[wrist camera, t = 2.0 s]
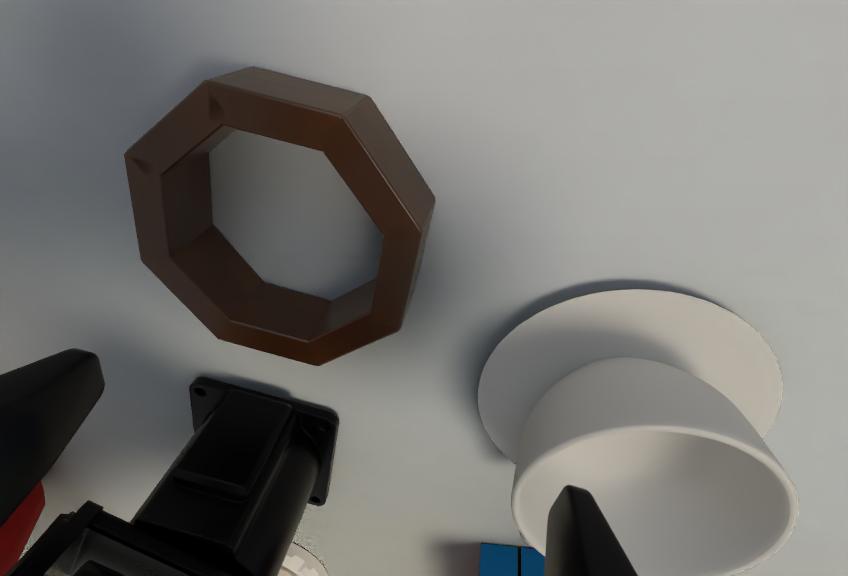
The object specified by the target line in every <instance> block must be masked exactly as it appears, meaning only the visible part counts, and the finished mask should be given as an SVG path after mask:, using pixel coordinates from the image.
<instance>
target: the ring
mask: <svg viewBox="0 0 848 576" xmlns="http://www.w3.org/2000/svg"><path fill="white" fill-rule="evenodd" d="M236 129H239V130H243V131H247V132H251V133H254V134H258V135H262V136H266V137H270V138H274V139H277V140H281V141H285V142H289V143H293V144H297V145H300V146H304V147H308V148H312V149H316V150H320V151H323V152H324V153H325V155H326V156H327V158H328V159H329V160H330V162H331V163H332V165H333V166H334V167H335V169H336V170H337V171H338V173H339V174H340V176H341V177H342V178H343V180H344V181H345V183H346V184H347V185H348V187H349V188H350V190H351V191H352V192H353V194H354V195H355V196H356V198H357V199H358V201H359V202H360V203H361V205H362V206H363V208H364V209H365V210H366V212H367V213H368V214H369V216H370V217H371V219H372V220H373V221H374V223H375V224H376V226H377V227H378V228H379V230H380V231H381V232H382V234H383V235H384V237H383V242H382V248H381V254H380V260H379V265H378V271H377V277H376V279H374V280H372V281H370V282H368V283H366V284H364V285H362V286H360V287H358V288H356V289H354V290H352V291H350V292H348V293H346V294H344V295H342V296H340V297H338V298H336V299H334V300H332V301H330V300H326V299H322V298H319V297H315V296H311V295H308V294H304V293H300V292H297V291H293V290H289V289H285V288H282V287H278V286H274V285H271V284H267V283H264V282H263V281H262V280H261V279H260V278H259V277H258V275H257V274H256V273H255V272H254V271H253V270H252V269H251V267H250V266H249V265H248V264H247V263H246V262H245V261H244V259H243V258H242V257H241V256H240V255H239V254H238V253H237V252H236V250H235V249H234V248H233V247H232V246H231V245H230V244H229V242H228V241H227V240H226V239H225V238H224V237H223V236H222V235H221V233H220V232H219V231H218V230H217V229H216V228H215V227H214V225H213V221H212V204H211V186H210V168H209V151H210V150H211V149H212V148H214V147H215V146H216V145H217V144H219V143H220V142H221V141H222V140H224V139H225V138H226V137H227V136H229V135H230V134H231V133H232V132H234V131H235V130H236ZM124 157H125V163H126V169H127V176H128V182H129V188H130V194H131V201H132V207H133V213H134V219H135V226H136V232H137V238H138V245H139V251H140V257H141V260H142V262H143V263H144V264H145V265H146V266H147V267H148V268H149V269H150V270H151V271H152V272H153V273H154V274H155V275H156V276H157V277H158V278H159V279H160V280H161V281H162V282H163V283H164V284H165V285H166V286H167V287H168V289H169V290H170V291H171V292H172V293H173V294H174V295H175V296H176V297H177V298H178V299H179V300H180V301H181V302H182V303H183V304H184V305H185V306H186V307H187V308H188V309H189V310H190V311H191V312H192V313H193V314H194V315H195V316H196V317H197V318H198V319H199V320H200V321H201V322H202V323H203V324H204V325H205V326H206V327H207V328H208V329H209V330H210V331H211V332H212V333H213V334H214V335H215V336H216V337H217V338H218V339H221V340H223V341H227V342H231V343H234V344H238V345H242V346H245V347H249V348H253V349H256V350H260V351H263V352H267V353H271V354H274V355H278V356H282V357H285V358H289V359H293V360H296V361H300V362H304V363H307V364H311V365H314V366H320V365H322V364H324V363H327V362H329V361H331V360H334V359H336V358H338V357H340V356H343V355H345V354H347V353H350V352H352V351H354V350H356V349H359V348H361V347H363V346H366V345H368V344H370V343H372V342H375V341H377V340H379V339H382V338H384V337H386V336H389V335H391V334H393V333H395V332H398V331H399V330H400V329H401V327H402V324H403V321H404V318H405V315H406V313H407V310H408V307H409V304H410V301H411V298H412V295H413V292H414V289H415V286H416V282H417V277H418V273H419V269H420V264H421V260H422V256H423V252H424V247H425V243H426V239H427V234H428V230H429V226H430V222H431V217H432V213H433V209H434V204H435V196H434V195H433V193H432V192H431V190H430V189H429V187H428V185H427V184H426V182H425V181H424V179H423V178H422V176H421V175H420V173H419V172H418V170H417V168H416V167H415V165H414V164H413V162H412V161H411V159H410V158H409V156H408V155H407V153H406V151H405V150H404V148H403V147H402V145H401V144H400V142H399V141H398V139H397V138H396V136H395V134H394V133H393V131H392V130H391V128H390V127H389V125H388V124H387V122H386V120H385V119H384V117H383V116H382V114H381V113H380V111H379V110H378V108H377V107H376V105H375V103H374V102H373V100H372V99H371V98H370V97H368V96H366V95H362V94H359V93H355V92H351V91H347V90H343V89H339V88H335V87H331V86H327V85H323V84H320V83H316V82H312V81H308V80H304V79H300V78H296V77H292V76H288V75H284V74H281V73H277V72H273V71H269V70H265V69H261V68H257V67H249V68H245V69H242V70H239V71H235V72H232V73H229V74H225V75H222V76H219V77H215V78H212V79H208V80H205V81H203V82H202V83H201V84H200V85H199V86H198V87H196V88H195V89H194V90H193V91H192V92H191V93H190V94H189V95H188V96H186V97H185V98H184V99H183V100H182V101H181V102H180V103H179V104H178V105H177V106H175V107H174V108H173V109H172V110H171V111H170V112H169V113H168V114H167V115H165V116H164V117H163V118H162V119H161V120H160V121H159V122H158V123H157V124H155V125H154V126H153V127H152V128H151V129H150V130H149V131H148V132H147V133H146V134H144V135H143V136H142V137H141V138H140V139H139V140H138V141H137V142H136V143H134V144H133V145H132V146H131V147H130V148H129V149H128V150H127V151H126V153H125V154H124Z"/></svg>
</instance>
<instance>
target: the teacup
mask: <svg viewBox="0 0 848 576" xmlns="http://www.w3.org/2000/svg"><path fill="white" fill-rule="evenodd" d="M782 396H783V383H782V374H781V370H780V367H779V364H778V362H777V359H776V357H775V355H774V353H773V351H772V349H771V348H770V346H769V345H768V344H767V342H766V341H765V340H764V339H763V337H762V336H761V335H760V334H759V333H758V332H757V331H756V330H755V329H754V328H753V327H752V326H750V325H749V324H748V323H746V322H745V321H744V320H742V319H741V318H740V317H738V316H737V315H735V314H733V313H732V312H730V311H728V310H726V309H724V308H722V307H720V306H717V305H715V304H713V303H710V302H708V301H705V300H702V299H699V298H696V297H692V296H688V295H684V294H679V293H674V292H668V291H659V290H645V289H628V290H615V291H605V292H599V293H594V294H589V295H585V296H581V297H577V298H573V299H570V300H567V301H564V302H562V303H559V304H557V305H554V306H552V307H549V308H547V309H545V310H543V311H541V312H539V313H537V314H535V315H534V316H532V317H531V318H529V319H527V320H526V321H524V322H523V323H521V324H520V325H519V326H517V327H516V328H515V329H514V330H512V331H511V332H510V333H509V334H508V335H507V336H506V337H505V338H504V339H503V340H502V341H501V342H500V343H499V344H498V346H497V347H496V348H495V350H494V351H493V352H492V354H491V355H490V357H489V359H488V360H487V362H486V364H485V366H484V369H483V371H482V374H481V377H480V381H479V386H478V408H479V413H480V417H481V420H482V423H483V425H484V427H485V429H486V431H487V433H488V435H489V437H490V438H491V440H492V441H493V442H494V444H495V445H496V446H497V447H498V449H499V450H500V451H501V452H502V453H503V454H504V455H505V456H506V457H508V458H509V459H510V460H511V461H512V462H514V463H515V464H516V469H515V475H514V482H513V488H512V495H511V507H512V513H513V517H514V520H515V523H516V525H517V527H518V529H519V532H520V535H521V537H522V539H523V540H524V541H525V542H526V543H527V544H528V545H530V546H532V547H534V548H535V549H536V550H537V551H539V552H540V553H541V554H542V555H544V556H545V551H546V535H547V520H548V514H549V511H550V508H551V507H552V505H553V503H554V502H555V500H556V499H557V497H558V496H559V494H560V492H561V491H562V489H563V488H564V487H565V486H566V485H573V486H576V487H580V488H584V489H586V490H588V491H589V492H590V493H591V494H592V496H593V497H594V499H595V501H596V503H597V504H598V506H599V508H600V510H601V511H602V513H603V515H604V517H605V518H606V520H607V522H608V524H609V525H610V527H611V529H612V531H613V532H614V534H615V536H616V538H617V539H618V541H619V543H620V545H621V546H622V548H623V550H624V552H625V553H626V555H627V557H628V559H629V560H630V562H631V564H632V566H633V567H634V569H635V571H636V573H637V574H638V576H732V575H735V574H738V573H741V572H743V571H745V570H748V569H750V568H752V567H754V566H756V565H757V564H759V563H761V562H762V561H764V560H766V559H767V558H768V557H770V556H771V555H772V554H774V553H775V552H776V551H777V550H778V549H779V548H780V547H781V546H782V545H783V544H784V543H785V542H786V541H787V539H788V538H789V536H790V535H791V533H792V532H793V530H794V528H795V525H796V523H797V519H798V515H799V500H798V495H797V492H796V489H795V486H794V484H793V482H792V480H791V478H790V477H789V475H788V474H787V472H786V471H785V469H784V468H783V467H782V465H781V464H780V463H779V461H778V460H777V459H776V457H775V456H774V455H773V453H772V452H771V451H770V449H769V448H768V446H767V445H766V444H765V442H764V441H763V439H764V438H765V437H766V435H767V434H768V432H769V431H770V429H771V427H772V426H773V424H774V422H775V420H776V418H777V416H778V413H779V410H780V406H781V402H782Z"/></svg>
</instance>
